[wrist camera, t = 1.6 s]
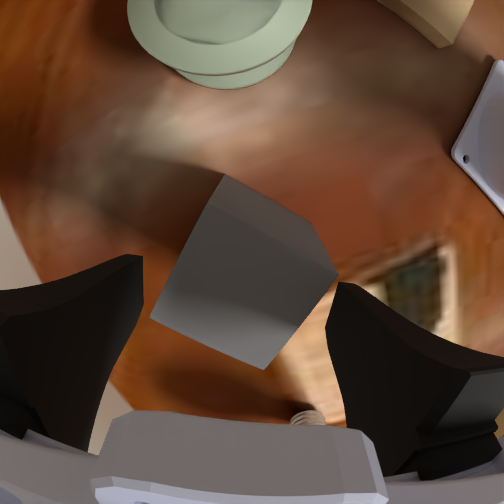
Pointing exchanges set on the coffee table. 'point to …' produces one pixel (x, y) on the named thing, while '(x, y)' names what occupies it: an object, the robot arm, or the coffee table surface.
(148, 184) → the coffee table surface
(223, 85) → the bobbin
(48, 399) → the robot arm
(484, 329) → the coffee table surface
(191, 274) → the block
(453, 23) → the notched board
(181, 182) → the coffee table surface
